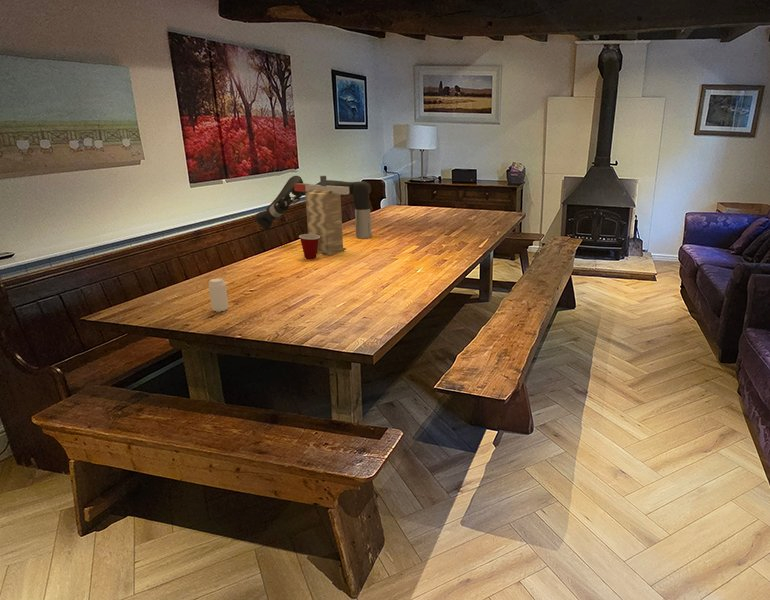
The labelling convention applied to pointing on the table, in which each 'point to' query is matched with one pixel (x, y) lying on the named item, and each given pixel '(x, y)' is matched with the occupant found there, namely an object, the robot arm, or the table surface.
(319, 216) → the stand
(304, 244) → the plastic cup
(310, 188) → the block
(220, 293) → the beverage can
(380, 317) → the table surface
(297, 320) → the table surface
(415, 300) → the table surface
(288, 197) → the robot arm
